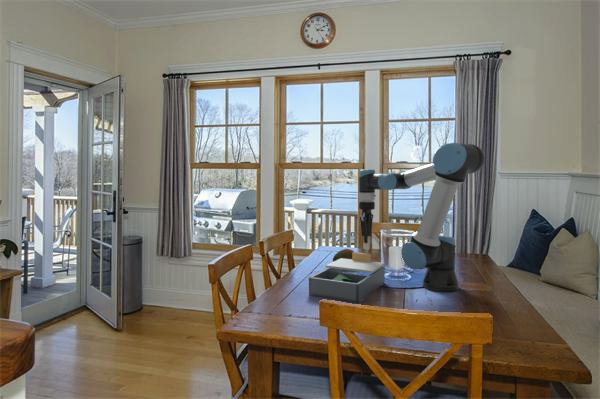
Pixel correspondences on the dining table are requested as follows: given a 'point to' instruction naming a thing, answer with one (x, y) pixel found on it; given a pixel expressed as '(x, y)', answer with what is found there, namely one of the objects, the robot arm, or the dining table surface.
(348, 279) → the clamp
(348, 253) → the fruit
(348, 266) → the lid
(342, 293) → the housing
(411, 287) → the dining table surface
